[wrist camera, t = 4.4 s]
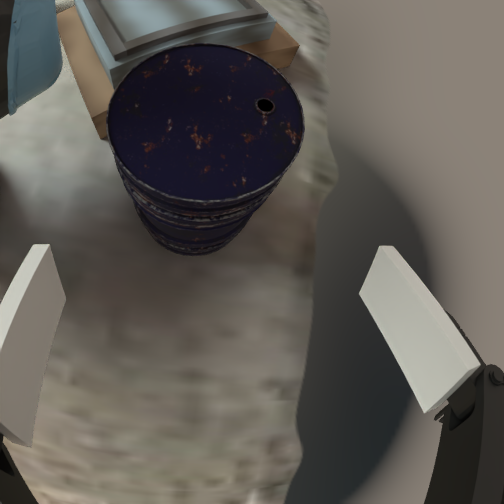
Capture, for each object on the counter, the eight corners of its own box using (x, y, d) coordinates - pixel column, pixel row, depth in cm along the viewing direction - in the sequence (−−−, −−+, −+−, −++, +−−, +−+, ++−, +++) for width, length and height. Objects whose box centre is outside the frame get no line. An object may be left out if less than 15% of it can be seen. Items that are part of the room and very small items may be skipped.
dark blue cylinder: (145, 264, 26) (101, 220, 11) (137, 162, 27) (110, 51, 12) (255, 249, 28) (329, 194, 14) (238, 152, 29) (283, 44, 15)
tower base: (100, 139, 26) (81, 93, 19) (59, 34, 27) (48, -4, 19) (289, 66, 33) (311, 23, 25) (208, -15, 33) (216, -51, 26)
